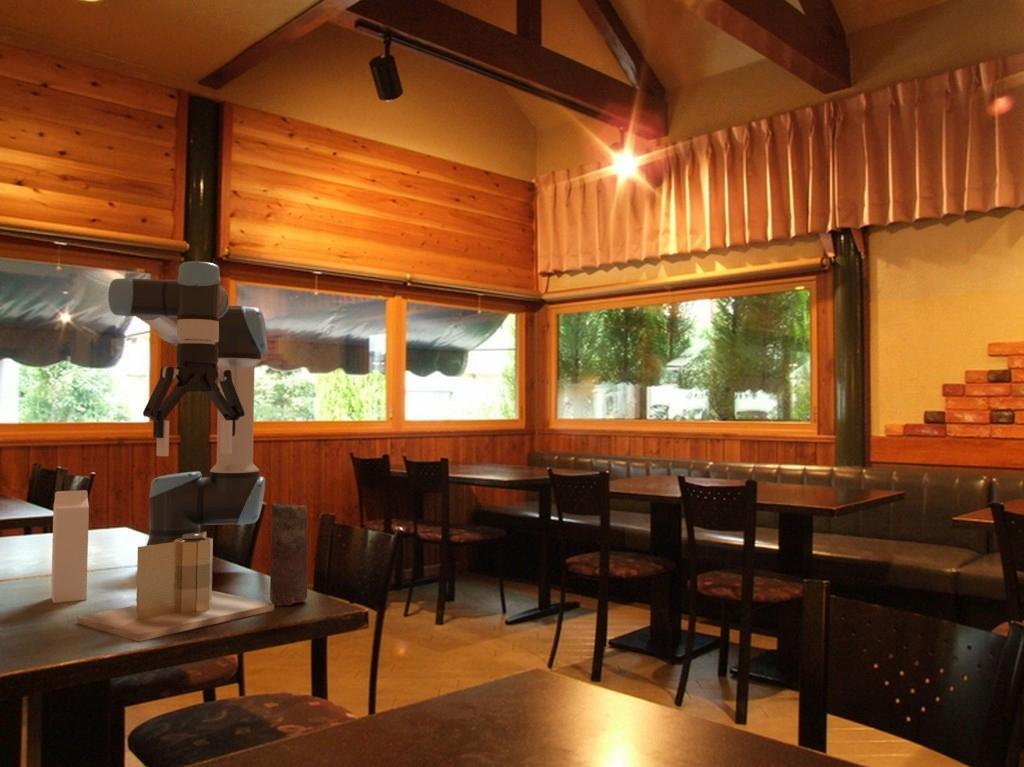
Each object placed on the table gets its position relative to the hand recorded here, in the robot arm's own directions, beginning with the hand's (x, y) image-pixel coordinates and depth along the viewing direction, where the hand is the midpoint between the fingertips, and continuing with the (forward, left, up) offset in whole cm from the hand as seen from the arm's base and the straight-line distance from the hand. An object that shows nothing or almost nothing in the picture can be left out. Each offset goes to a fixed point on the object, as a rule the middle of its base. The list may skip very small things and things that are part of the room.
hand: (195, 454), depth 160 cm
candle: (-18, +6, -30) cm, 36 cm away
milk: (+7, -32, -30) cm, 45 cm away
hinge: (+2, -2, -29) cm, 29 cm away
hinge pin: (0, 0, -29) cm, 29 cm away
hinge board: (+2, -1, -30) cm, 30 cm away
